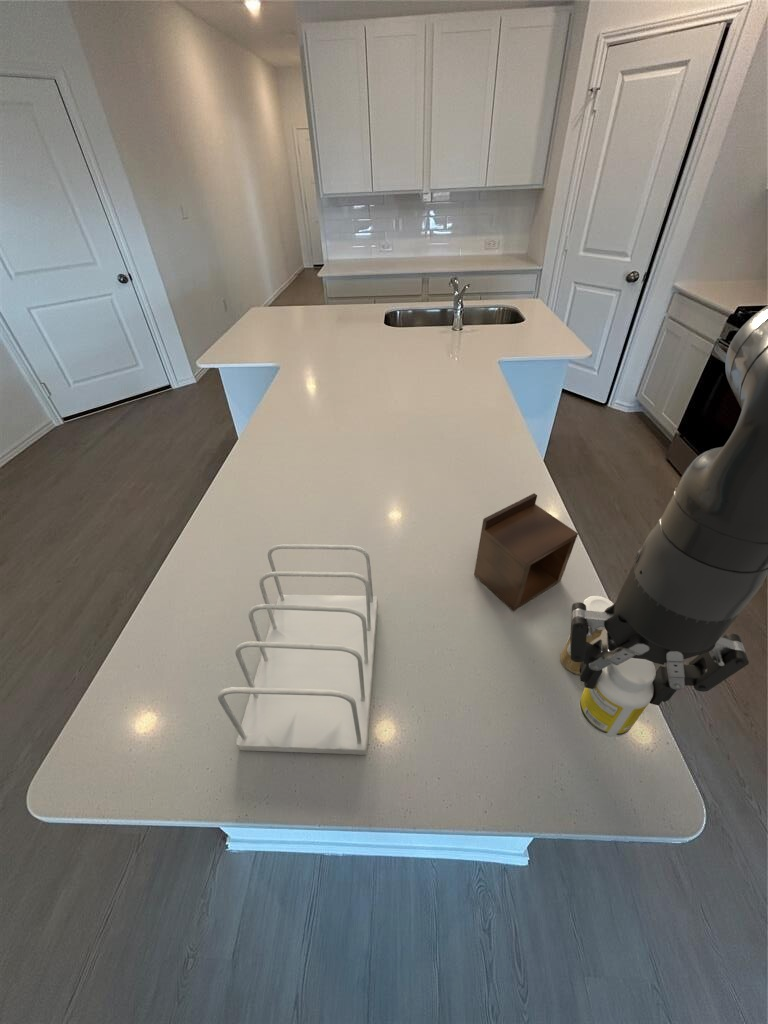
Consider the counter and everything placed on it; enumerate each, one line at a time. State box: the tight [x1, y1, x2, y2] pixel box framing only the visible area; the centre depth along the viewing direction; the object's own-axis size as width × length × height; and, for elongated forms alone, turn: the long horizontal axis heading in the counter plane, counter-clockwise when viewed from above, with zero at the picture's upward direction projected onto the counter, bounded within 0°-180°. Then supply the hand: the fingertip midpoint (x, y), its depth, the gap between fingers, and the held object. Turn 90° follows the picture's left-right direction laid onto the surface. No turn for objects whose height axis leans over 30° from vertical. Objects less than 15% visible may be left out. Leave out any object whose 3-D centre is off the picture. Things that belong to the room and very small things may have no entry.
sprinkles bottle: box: [559, 595, 614, 675], centre depth 63 cm, size 5×5×14 cm
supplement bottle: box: [578, 658, 657, 738], centre depth 45 cm, size 5×5×10 cm
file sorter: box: [217, 543, 379, 756], centre depth 63 cm, size 25×17×16 cm
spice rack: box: [473, 493, 579, 612], centre depth 76 cm, size 10×12×14 cm
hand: (619, 687), depth 45 cm, fingers closed on supplement bottle, 5 cm apart
